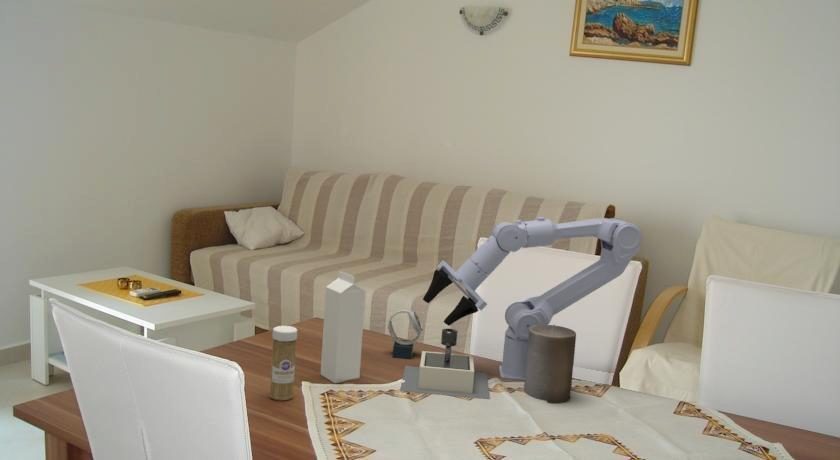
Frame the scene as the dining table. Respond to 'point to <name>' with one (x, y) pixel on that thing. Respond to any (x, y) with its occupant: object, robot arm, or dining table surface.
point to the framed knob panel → (446, 376)
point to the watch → (405, 347)
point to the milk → (342, 329)
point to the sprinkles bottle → (283, 362)
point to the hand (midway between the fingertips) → (435, 312)
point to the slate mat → (412, 386)
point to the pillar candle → (550, 362)
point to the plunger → (447, 353)
